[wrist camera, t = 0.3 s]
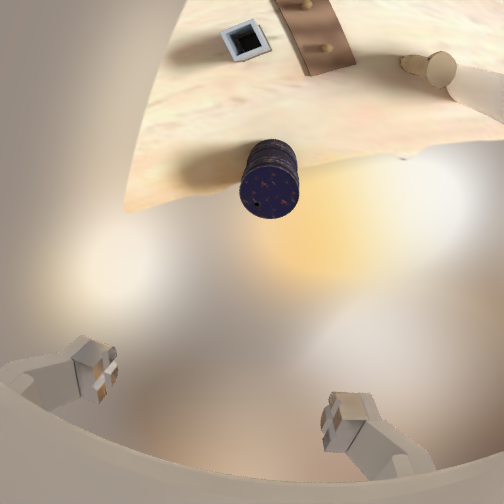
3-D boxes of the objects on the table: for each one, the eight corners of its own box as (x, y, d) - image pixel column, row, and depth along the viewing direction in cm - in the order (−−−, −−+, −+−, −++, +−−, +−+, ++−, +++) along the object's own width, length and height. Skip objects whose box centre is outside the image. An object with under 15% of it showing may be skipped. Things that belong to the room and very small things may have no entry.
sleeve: (232, 37, 43) (217, 32, 33) (260, 26, 41) (253, 17, 31) (244, 61, 46) (233, 62, 36) (272, 50, 44) (269, 48, 34)
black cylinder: (271, 128, 54) (268, 152, 42) (306, 161, 58) (312, 194, 46) (238, 161, 59) (226, 193, 47) (273, 191, 63) (269, 229, 51)
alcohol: (451, 55, 38) (555, 81, 14) (480, 79, 39) (579, 121, 15) (437, 88, 43) (536, 133, 19) (466, 110, 44) (560, 167, 21)
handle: (422, 60, 40) (461, 67, 28) (406, 82, 44) (442, 94, 32) (404, 44, 39) (441, 45, 27) (388, 66, 43) (420, 73, 31)
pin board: (272, -5, 37) (271, -10, 33) (318, -18, 34) (321, -23, 30) (311, 76, 47) (313, 77, 43) (355, 64, 44) (361, 64, 40)
